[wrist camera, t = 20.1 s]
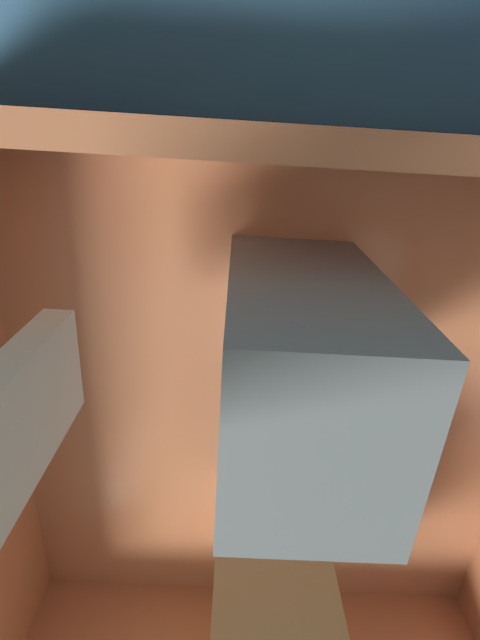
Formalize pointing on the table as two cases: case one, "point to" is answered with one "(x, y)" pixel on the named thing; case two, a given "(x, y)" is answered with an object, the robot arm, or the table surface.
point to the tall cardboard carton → (276, 600)
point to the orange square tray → (213, 352)
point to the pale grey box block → (326, 406)
